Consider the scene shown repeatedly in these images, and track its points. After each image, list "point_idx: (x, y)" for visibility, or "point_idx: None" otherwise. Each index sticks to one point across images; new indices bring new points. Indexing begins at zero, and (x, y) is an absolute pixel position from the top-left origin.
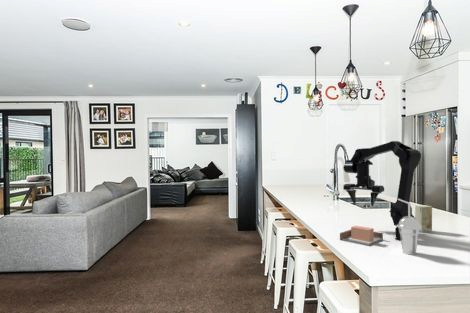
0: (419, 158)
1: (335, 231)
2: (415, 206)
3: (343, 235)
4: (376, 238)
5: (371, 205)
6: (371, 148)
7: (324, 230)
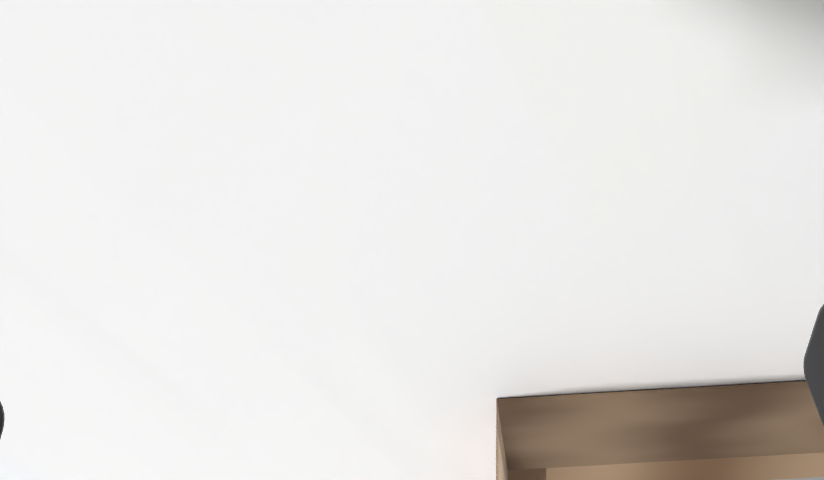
0: None
1: (223, 427)
2: None
3: None
4: None
5: (812, 394)
6: None
7: (104, 471)
